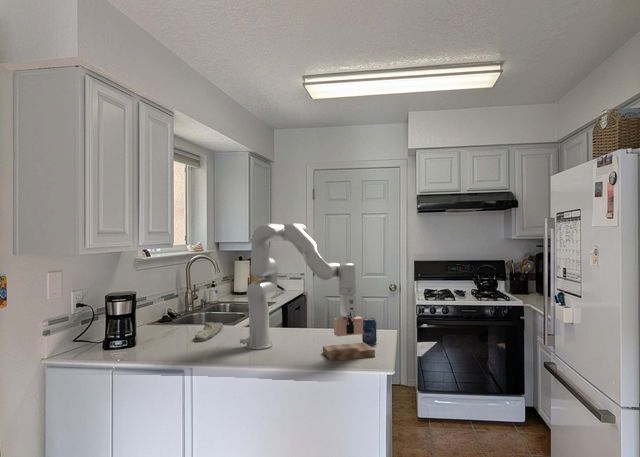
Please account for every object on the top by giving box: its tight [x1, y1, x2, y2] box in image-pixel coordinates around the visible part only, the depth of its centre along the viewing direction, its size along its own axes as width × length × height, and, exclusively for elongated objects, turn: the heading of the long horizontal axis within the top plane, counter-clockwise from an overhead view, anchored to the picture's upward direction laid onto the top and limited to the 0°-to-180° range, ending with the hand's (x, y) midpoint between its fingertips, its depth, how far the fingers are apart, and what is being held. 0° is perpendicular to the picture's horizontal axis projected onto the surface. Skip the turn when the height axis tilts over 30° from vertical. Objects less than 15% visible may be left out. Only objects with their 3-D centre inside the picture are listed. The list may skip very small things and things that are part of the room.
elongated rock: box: [193, 321, 224, 343], centre depth 237 cm, size 35×5×10 cm
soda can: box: [361, 317, 378, 346], centre depth 211 cm, size 7×7×12 cm
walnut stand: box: [322, 342, 376, 362], centre depth 193 cm, size 20×13×3 cm, turn 105°
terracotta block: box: [333, 315, 364, 337], centre depth 193 cm, size 4×12×7 cm, turn 105°
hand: (348, 331), depth 193 cm, fingers closed on terracotta block, 4 cm apart
